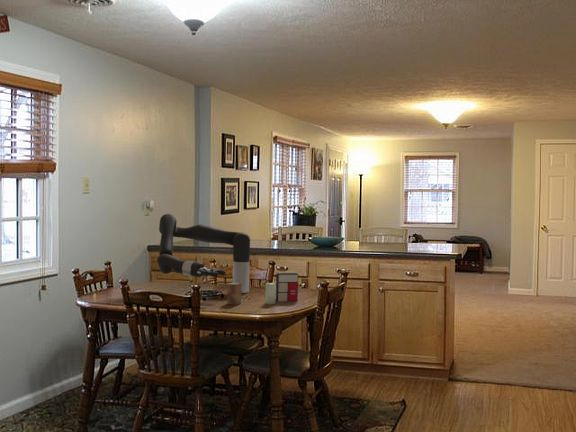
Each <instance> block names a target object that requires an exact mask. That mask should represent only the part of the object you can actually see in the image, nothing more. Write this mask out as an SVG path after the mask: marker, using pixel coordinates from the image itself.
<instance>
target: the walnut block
mask: <svg viewBox="0 0 576 432" xmlns="http://www.w3.org/2000/svg"><path fill="white" fill-rule="evenodd" d="M226 290H227V294H226V295H227V297H226V298H227V299H226V304H227V305H234V306H236V305H241V304H242V293H241V283H233V282H230V283H227V289H226Z"/></svg>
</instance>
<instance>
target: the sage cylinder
mask: <svg viewBox="0 0 576 432" xmlns="http://www.w3.org/2000/svg"><path fill="white" fill-rule="evenodd" d="M264 295H265V296H264V299H265V300H264V303H265V305H269V306H271V305H275V304H276V283H275V282H266V283H265V293H264Z"/></svg>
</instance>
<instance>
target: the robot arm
mask: <svg viewBox="0 0 576 432" xmlns="http://www.w3.org/2000/svg"><path fill="white" fill-rule="evenodd" d="M159 219H160V220H159V225H158V226H159V227H158V231H159V234H160V235H161V236H160V242H159V255H158V257H157V260H156V262H157V264H158V267H159V271H160V272H161V273H162V274H165V275H166V274H171V272H172V271H174V273H176V274H180V275H186V276H189V277H195V278H202V277H214V278H218V277H219V275H221V276H226V274H227V272H226V270H222V269H220V268H215V267H211V266H206V267H205V264H204V263H203V262H198V261H193V260H185V259H184V260H183V259H180V258H177V257H176V256H173V253H174V238H180V239H181V238H182V239H188V240H194V241H199V242H203V243H210V244H223V245H224V244H225V245H229V246H232V283H241V294H247V293H249V292H250V291H249V289H250V262H251V261H250V258H251V254H250V253H251V251H250V250H251V238H250V236H249V235H248V234H247V233H246V232H241V231H229V230H225V229H222V228H219V227H215V226H211V225H206V224H196V225H192V226H190V227H181V226H177V222H178V221H177V219H176V217H175V216H174V215H173V214H170V213H165V214H163V215H162V216H161V217H160V218H159Z"/></svg>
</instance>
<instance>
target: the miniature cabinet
mask: <svg viewBox="0 0 576 432" xmlns="http://www.w3.org/2000/svg"><path fill="white" fill-rule="evenodd" d="M275 276H276V277H275V281H276V283H275V284H276V289H275V302H297V301H298V300H299V299H298V296H299V293H298V291H299V273H297V272H276V275H275Z"/></svg>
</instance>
